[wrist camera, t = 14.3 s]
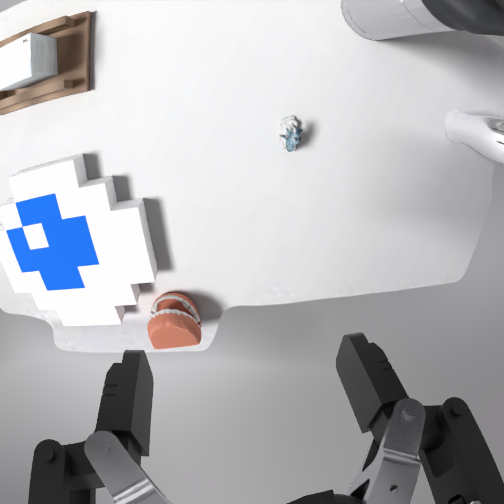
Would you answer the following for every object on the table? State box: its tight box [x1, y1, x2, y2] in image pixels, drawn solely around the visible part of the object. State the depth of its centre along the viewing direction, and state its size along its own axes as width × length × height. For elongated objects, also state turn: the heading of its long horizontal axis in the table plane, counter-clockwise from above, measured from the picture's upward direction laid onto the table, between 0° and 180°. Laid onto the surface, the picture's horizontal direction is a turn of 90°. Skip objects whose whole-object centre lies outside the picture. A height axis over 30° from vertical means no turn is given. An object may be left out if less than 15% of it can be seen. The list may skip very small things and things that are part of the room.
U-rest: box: [0, 11, 91, 115], centre depth 26 cm, size 16×12×4 cm
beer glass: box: [444, 109, 504, 164], centre depth 34 cm, size 7×7×15 cm
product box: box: [0, 33, 58, 91], centre depth 24 cm, size 6×6×7 cm
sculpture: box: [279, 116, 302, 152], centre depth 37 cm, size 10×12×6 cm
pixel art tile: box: [0, 154, 158, 326], centre depth 41 cm, size 28×4×28 cm
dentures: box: [148, 293, 201, 349], centre depth 47 cm, size 9×7×8 cm
